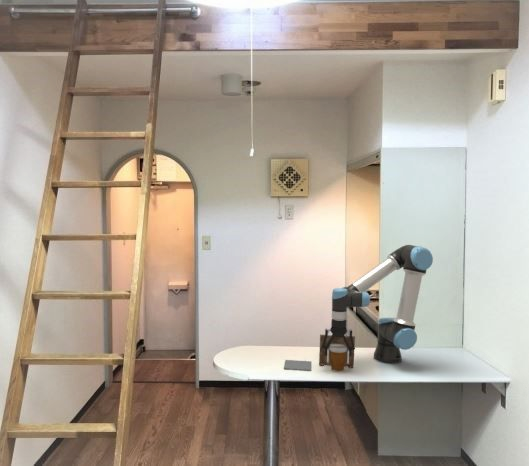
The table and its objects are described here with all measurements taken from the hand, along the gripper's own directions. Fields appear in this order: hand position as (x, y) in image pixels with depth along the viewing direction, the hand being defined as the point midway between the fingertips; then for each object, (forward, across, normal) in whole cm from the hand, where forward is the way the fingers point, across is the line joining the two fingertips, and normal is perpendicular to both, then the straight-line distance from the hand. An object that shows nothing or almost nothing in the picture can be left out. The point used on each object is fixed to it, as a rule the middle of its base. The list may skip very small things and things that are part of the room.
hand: (337, 362), depth 249 cm
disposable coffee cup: (+4, 0, 0) cm, 4 cm away
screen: (+4, 0, -7) cm, 8 cm away
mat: (+4, +20, -3) cm, 21 cm away
